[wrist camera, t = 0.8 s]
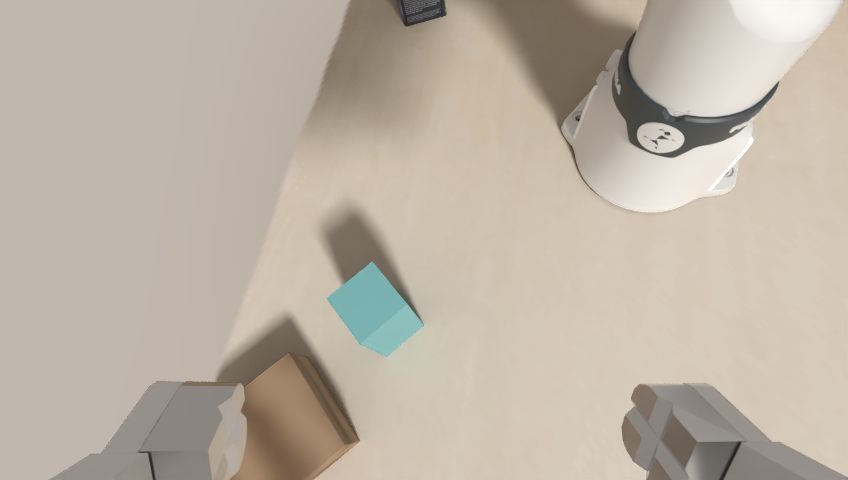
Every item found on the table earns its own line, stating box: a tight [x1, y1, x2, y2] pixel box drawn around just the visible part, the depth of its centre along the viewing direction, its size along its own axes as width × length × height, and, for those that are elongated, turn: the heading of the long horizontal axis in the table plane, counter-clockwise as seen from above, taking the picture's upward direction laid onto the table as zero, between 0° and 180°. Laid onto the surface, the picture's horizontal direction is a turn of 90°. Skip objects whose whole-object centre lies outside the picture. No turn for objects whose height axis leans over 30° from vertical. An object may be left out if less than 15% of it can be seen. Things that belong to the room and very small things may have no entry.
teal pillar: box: [326, 262, 424, 357], centre depth 40 cm, size 5×5×10 cm
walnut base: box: [230, 353, 360, 480], centre depth 40 cm, size 10×10×5 cm
